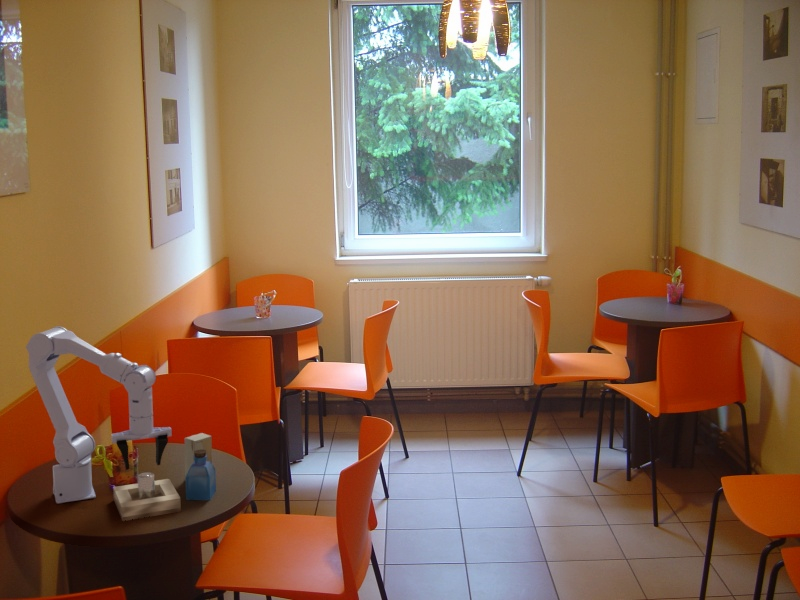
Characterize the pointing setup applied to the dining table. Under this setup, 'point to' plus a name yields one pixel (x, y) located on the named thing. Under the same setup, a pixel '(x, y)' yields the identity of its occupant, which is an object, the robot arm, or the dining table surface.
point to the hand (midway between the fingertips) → (142, 466)
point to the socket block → (146, 501)
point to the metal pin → (146, 486)
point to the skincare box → (197, 448)
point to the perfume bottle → (200, 478)
